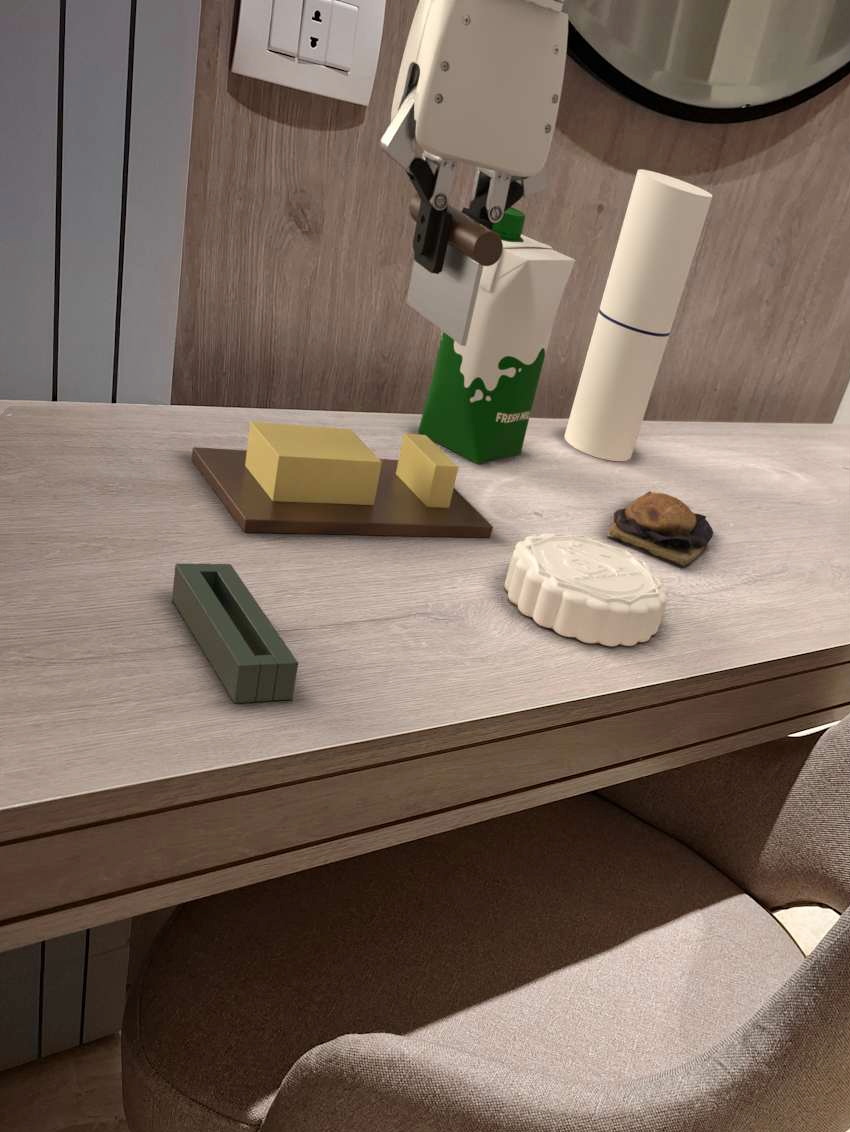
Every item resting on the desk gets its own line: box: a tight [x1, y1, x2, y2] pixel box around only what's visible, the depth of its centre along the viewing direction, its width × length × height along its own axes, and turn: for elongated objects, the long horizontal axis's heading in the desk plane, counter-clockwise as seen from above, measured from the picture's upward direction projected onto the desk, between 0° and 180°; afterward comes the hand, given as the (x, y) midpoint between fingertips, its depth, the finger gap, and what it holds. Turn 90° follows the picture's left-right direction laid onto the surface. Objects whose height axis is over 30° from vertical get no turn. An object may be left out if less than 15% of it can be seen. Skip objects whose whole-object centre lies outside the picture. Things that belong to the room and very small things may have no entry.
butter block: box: [245, 421, 382, 505], centre depth 89 cm, size 8×6×4 cm
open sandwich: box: [606, 490, 714, 567], centre depth 105 cm, size 11×8×4 cm
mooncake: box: [504, 531, 669, 647], centre depth 88 cm, size 12×12×4 cm
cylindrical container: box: [563, 169, 713, 462], centre depth 114 cm, size 7×7×25 cm
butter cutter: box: [405, 194, 503, 346], centre depth 84 cm, size 2×10×8 cm, turn 33°
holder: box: [171, 562, 299, 704], centre depth 70 cm, size 3×12×2 cm, turn 33°
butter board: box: [191, 446, 494, 538], centre depth 92 cm, size 20×12×1 cm, turn 123°
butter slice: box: [396, 432, 459, 508], centre depth 94 cm, size 2×6×4 cm, turn 33°
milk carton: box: [417, 206, 576, 465], centre depth 105 cm, size 9×9×20 cm
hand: (445, 268), depth 84 cm, fingers closed on butter cutter, 2 cm apart
